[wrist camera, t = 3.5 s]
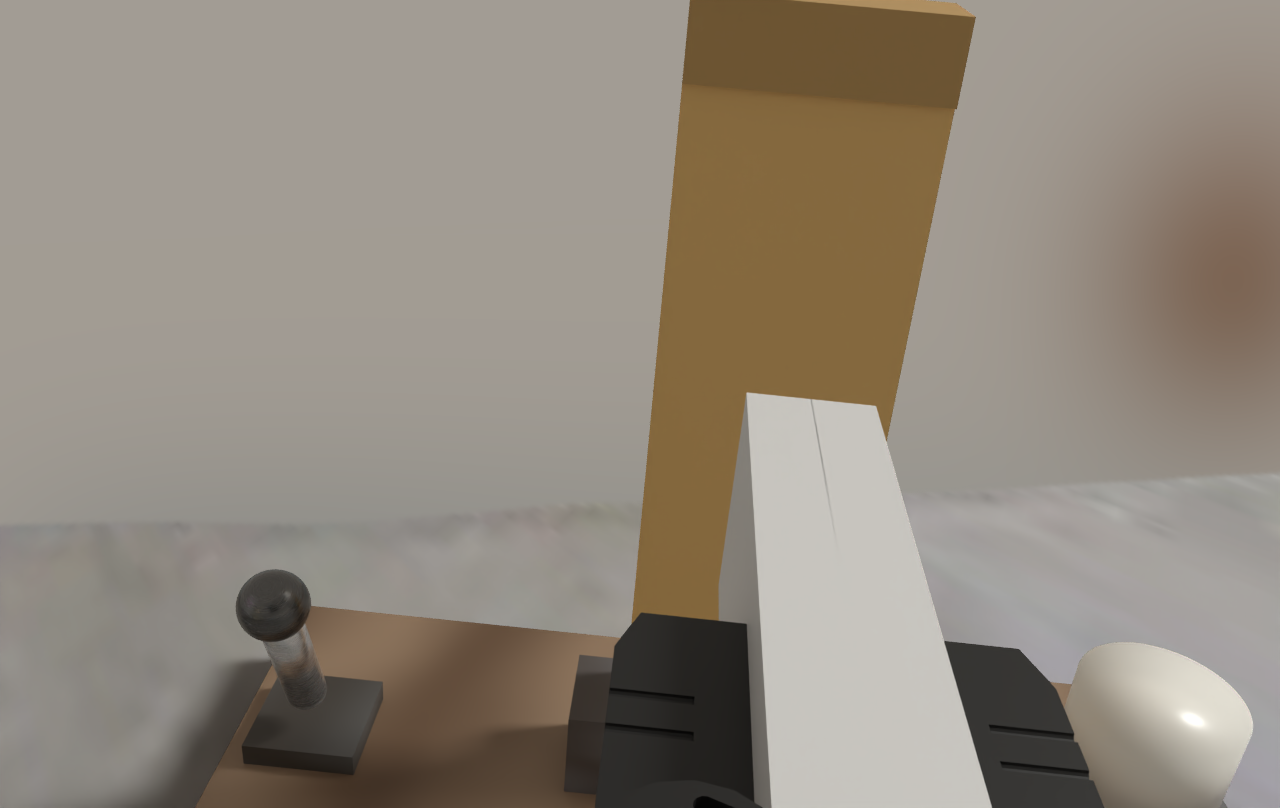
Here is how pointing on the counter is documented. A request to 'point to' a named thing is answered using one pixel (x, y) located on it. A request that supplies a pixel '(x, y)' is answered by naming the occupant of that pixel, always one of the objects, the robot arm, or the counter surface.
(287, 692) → the toggle lever
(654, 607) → the tan tall block
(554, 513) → the counter surface
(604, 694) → the console
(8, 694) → the counter surface
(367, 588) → the counter surface
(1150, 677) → the push button
